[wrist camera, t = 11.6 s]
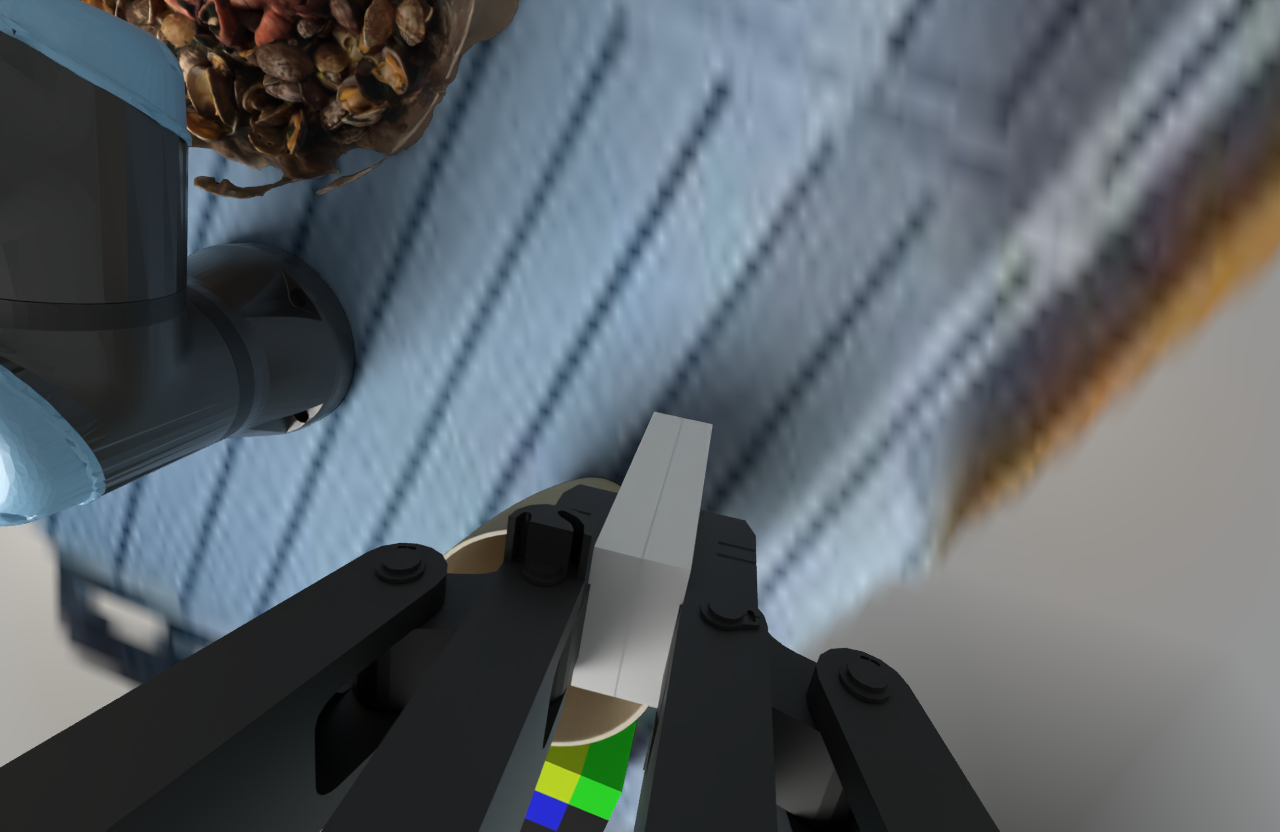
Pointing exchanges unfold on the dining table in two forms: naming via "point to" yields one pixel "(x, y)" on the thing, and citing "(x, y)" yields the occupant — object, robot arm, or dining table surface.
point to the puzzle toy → (580, 785)
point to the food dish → (311, 74)
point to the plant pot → (583, 709)
